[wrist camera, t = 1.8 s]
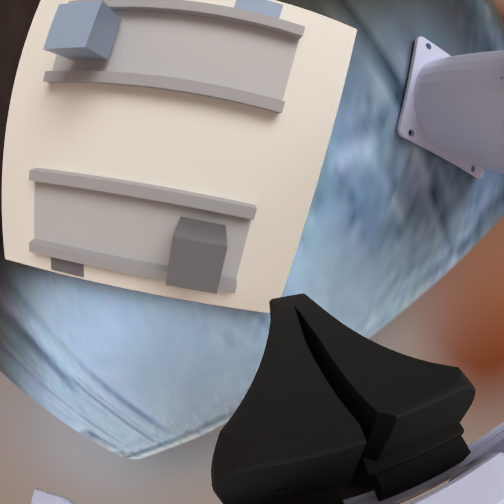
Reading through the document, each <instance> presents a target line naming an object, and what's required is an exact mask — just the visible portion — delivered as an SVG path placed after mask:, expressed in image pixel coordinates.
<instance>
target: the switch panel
mask: <svg viewBox="0 0 504 504" xmlns="http://www.w3.org/2000/svg"><path fill="white" fill-rule="evenodd" d="M85 1H98V0H41V1H40V4H39V6H38V9H37V11H36V14H35V16H34V19H33V21H32V24H31V27H30V30H29V33H28V36H27V39H26V42H25V45H24V48H23V51H22V55H21V58H20V62H19V66H18V69H17V73H16V78H15V82H14V86H13V91H12V96H11V101H10V107H9V113H8V119H7V126H6V134H5V143H4V154H3V169H2V226H3V241H4V253H5V259H7V260H11V261H14V262H18V263H22V264H25V265H29V266H33V267H36V268H40V269H44V270H48V271H52V272H56V273H60V274H64V275H68V276H72V277H76V278H80V279H85V280H89V281H93V282H98V283H102V284H107V285H111V286H116V287H121V288H126V289H130V290H135V291H140V292H145V293H150V294H155V295H161V296H166V297H171V298H177V299H182V300H188V301H194V302H199V303H205V304H211V305H218V306H224V307H230V308H237V309H243V310H250V311H257V312H264V313H270V306H269V301H270V300H271V299H274V298H280V297H281V296H282V293H283V290H284V287H285V284H286V281H287V278H288V275H289V272H290V269H291V266H292V263H293V260H294V257H295V254H296V251H297V248H298V245H299V241H300V238H301V235H302V232H303V229H304V225H305V222H306V219H307V216H308V212H309V209H310V206H311V202H312V199H313V196H314V192H315V189H316V186H317V182H318V179H319V175H320V172H321V168H322V165H323V161H324V158H325V154H326V151H327V147H328V144H329V140H330V136H331V133H332V129H333V125H334V122H335V118H336V114H337V110H338V106H339V102H340V99H341V95H342V91H343V87H344V83H345V79H346V75H347V71H348V66H349V62H350V58H351V54H352V50H353V45H354V41H355V36H356V32H357V29H355V28H352V27H350V26H348V25H345V24H343V23H341V22H338V21H336V20H333V19H331V18H328V17H325V16H323V15H320V14H317V13H314V12H312V11H309V10H306V9H303V8H300V7H296V6H293V5H290V4H286V3H283V2H280V1H276V0H103V1H104V2H105V3H106V4H107V5H108V6H109V7H110V9H111V10H112V11H113V12H114V13H115V14H116V15H117V16H118V17H119V18H120V19H121V22H120V25H119V28H118V31H117V34H116V37H115V40H114V43H113V46H112V49H111V52H110V56H109V59H108V60H96V59H75V60H70V59H68V58H65V57H62V56H60V55H57V54H54V53H52V52H49V51H46V50H43V48H44V45H45V42H46V39H47V36H48V33H49V30H50V27H51V24H52V21H53V19H54V16H55V14H56V11H57V8H58V6H59V4H66V3H74V2H85ZM180 217H186V218H191V219H197V220H202V221H207V222H212V223H217V224H223V225H226V235H227V246H228V247H227V251H226V256H225V260H224V264H223V269H222V273H221V278H220V282H219V286H218V291H217V294H214V293H208V292H202V291H196V290H190V289H185V288H179V287H174V286H169V285H166V279H167V271H168V264H169V257H170V250H171V244H172V237H173V234H174V232H175V229H176V227H177V224H178V222H179V219H180Z"/></svg>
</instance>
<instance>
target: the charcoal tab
mask: <svg viewBox="0 0 504 504" xmlns="http://www.w3.org/2000/svg"><path fill="white" fill-rule="evenodd" d="M227 247H228V246H227V235H226V225H223V224H217V223H212V222H207V221H202V220H197V219H191V218H186V217H180V219H179V222H178V224H177V227H176V229H175V232H174V234H173V237H172V244H171V250H170V257H169V264H168V271H167V279H166V285H169V286H174V287H179V288H185V289H190V290H196V291H202V292H208V293H214V294H217V291H218V286H219V282H220V278H221V273H222V269H223V264H224V260H225V256H226V251H227Z"/></svg>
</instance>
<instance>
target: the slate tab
mask: <svg viewBox="0 0 504 504" xmlns="http://www.w3.org/2000/svg"><path fill="white" fill-rule="evenodd" d="M120 22H121V19H120V18H119V17H118V16H117V15H116V14H115V13H114V12H113V11H112V10H111V9H110V7H109V6H108V5H107V4H106V3H105V2H104V1H103V0H98V1H85V2H74V3H66V4H59V6H58V8H57V11H56V14H55V16H54V19H53V21H52V24H51V27H50V30H49V33H48V36H47V39H46V42H45V45H44V48H43V50H46V51H49V52H52V53H54V54H57V55H60V56H62V57H65V58H68V59H70V60H75V59H96V60H108V59H109V56H110V52H111V49H112V46H113V43H114V40H115V37H116V34H117V31H118V28H119V25H120Z"/></svg>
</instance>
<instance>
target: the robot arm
mask: <svg viewBox="0 0 504 504" xmlns="http://www.w3.org/2000/svg"><path fill="white" fill-rule="evenodd" d="M426 45H427V46H428V49H427V47H426ZM409 130H410V131H411V135H410V136H409V134H408V132H409ZM397 132H398V134H399V136H401V137H402V138H405V139H407V140H409V141H411V142H413V143H415V144H417V145H419V146H421V147H423V148H425V149H426V150H428V151H430V152H432V153H434V154H436V155H438V156H440V157H441V158H443V159H445V160H447V161H448V162H450V163H452V164H454V165H455V166H457V167H459V168H460V169H462V170H464V171H465V172H467V173H469V174H470V175H472V176H474V177H475V178H478V179H480V178H481V177H482V175H483V172H484V169H488V170H491V171H494V172H497V173H500V174H504V50H501V51H490V52H480V53H472V54H464V55H457V56H450V55H448V54H447V53H446V52H444V51H443V50H441V49H440V48H439V47H437V46H436V45H434V44H433V43H431V42H430V41H428V40H427V39H425V38H424V37H417V38H416V39H415V44H414V50H413V56H412V61H411V67H410V72H409V77H408V82H407V87H406V92H405V96H404V101H403V105H402V110H401V114H400V118H399V122H398V126H397ZM471 167H472V169H471ZM269 306H270V317H271V322H270V329H269V335H268V339H267V344H266V348H265V351H264V354H263V358H262V360H261V363H260V366H259V368H258V371H257V373H256V375H255V378H254V380H253V382H252V384H251V386H250V388H249V390H248V392H247V393H246V395H245V397H244V398H243V400H242V402H241V404H240V405H239V407H238V408H237V410H236V411H235V413H234V414H233V416H232V417H231V418H230V420H229V421H228V422H227V424H226V425H225V426H224V427H223V429H222V430H221V431H220V434H219V437H218V440H217V443H216V447H215V451H214V455H213V460H212V467H211V476H212V487H213V490H214V492H215V493H216V495H217V496H218V498H219V499H220V500H221V502H222V503H223V504H400V503H402V502H405V501H407V500H409V499H411V498H414V497H416V496H418V495H420V494H422V493H424V492H426V491H428V490H430V489H432V488H434V487H436V486H438V485H439V484H441V483H443V482H445V481H447V480H449V479H450V478H451V479H450V480H449V482H448V483H447V484H445V485H443V486H441V487H439V488H437V489H435V490H434V491H432V492H430V493H428V494H426V495H424V496H422V497H420V498H418V499H415V500H413V501H411V502H409V503H407V504H504V422H502V423H501V424H499V425H498V426H497V427H495V428H494V429H492V430H491V431H489V432H488V433H486V434H485V435H483V436H482V437H480V438H479V439H477V440H476V441H475V442H473V443H471V444H469V445H468V446H467V444H466V443H465V441H464V440H463V438H462V436H461V435H462V434H463V433H464V429H463V428H462V426H461V424H460V421H461V420H462V418H463V417H464V415H465V413H466V412H467V410H468V409H469V407H470V406H471V404H472V402H473V400H474V396H475V391H476V390H475V388H474V386H473V385H472V383H471V382H470V381H469V380H468V378H466V376H465V375H464V374H463V372H462V371H461V370H460V369H459V368H458V367H452V366H447V365H441V364H436V363H430V362H427V361H423V360H419V359H415V358H412V357H409V356H406V355H403V354H401V353H398V352H395V351H393V350H390V349H388V348H386V347H383V346H381V345H379V344H377V343H375V342H373V341H371V340H369V339H367V338H365V337H363V336H362V335H360V334H358V333H356V332H355V331H353V330H352V329H350V328H348V327H347V326H345V325H344V324H342V323H341V322H339V321H338V320H337V319H335V318H334V317H333V316H331V315H330V314H329V313H327V312H326V311H325V310H324V309H322V308H321V307H320V306H319V305H318V304H316V303H315V302H314V301H313V300H311V299H310V298H309V297H308V296H307V295H305V294H298V295H292V296H286V297H280V298H274V299H271V300H270V301H269ZM31 504H75V503H74V502H72V501H70V500H69V499H67V498H64V497H62V496H59V495H55V494H52V493H48V492H45V491H42V490H39V489H35V490H34V494H33V498H32V502H31Z"/></svg>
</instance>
